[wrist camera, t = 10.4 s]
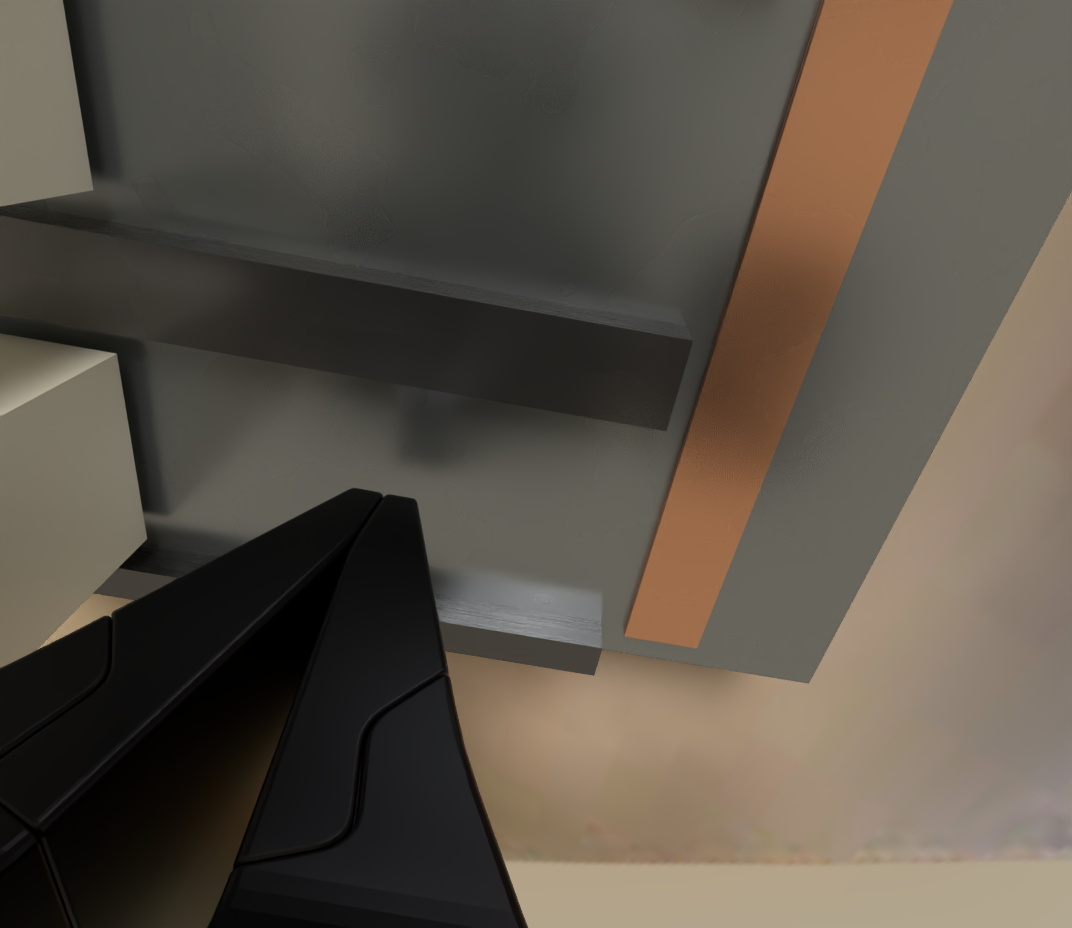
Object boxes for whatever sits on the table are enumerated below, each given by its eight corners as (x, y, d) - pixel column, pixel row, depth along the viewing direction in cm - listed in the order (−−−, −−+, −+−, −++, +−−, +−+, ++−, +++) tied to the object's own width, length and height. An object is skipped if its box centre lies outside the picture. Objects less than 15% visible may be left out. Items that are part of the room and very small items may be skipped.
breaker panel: (1343, -699, 6) (2015, -1407, 3) (770, 586, 13) (820, 712, 10) (-633, -1161, 5) (-1903, -2483, 3) (-80, 442, 13) (-259, 535, 10)
